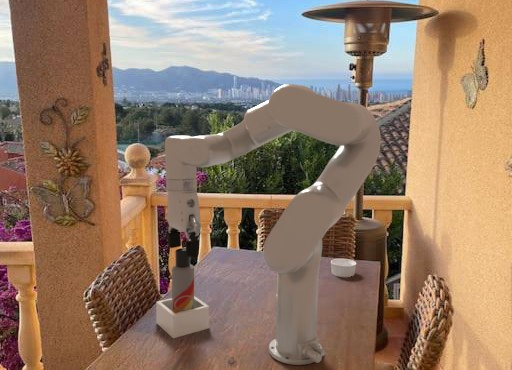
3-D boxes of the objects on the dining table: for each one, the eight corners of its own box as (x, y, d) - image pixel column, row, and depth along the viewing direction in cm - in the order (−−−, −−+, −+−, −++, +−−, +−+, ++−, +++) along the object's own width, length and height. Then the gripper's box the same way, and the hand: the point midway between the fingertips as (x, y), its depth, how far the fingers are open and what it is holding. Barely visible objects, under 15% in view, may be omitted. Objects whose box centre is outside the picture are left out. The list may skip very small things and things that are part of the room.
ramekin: (330, 268, 173) (331, 257, 172) (356, 270, 171) (356, 259, 170) (329, 277, 164) (329, 265, 163) (355, 279, 162) (356, 267, 162)
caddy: (209, 328, 124) (209, 306, 123) (173, 338, 119) (173, 315, 118) (191, 314, 133) (190, 293, 132) (156, 323, 127) (156, 301, 126)
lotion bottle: (189, 328, 122) (188, 252, 119) (168, 325, 123) (167, 250, 120) (197, 318, 127) (197, 246, 124) (177, 316, 129) (177, 244, 126)
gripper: (211, 188, 115) (213, 256, 117) (179, 180, 129) (181, 241, 131) (183, 191, 111) (185, 262, 113) (153, 182, 125) (156, 246, 127)
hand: (183, 251), depth 122 cm, fingers open, 9 cm apart
